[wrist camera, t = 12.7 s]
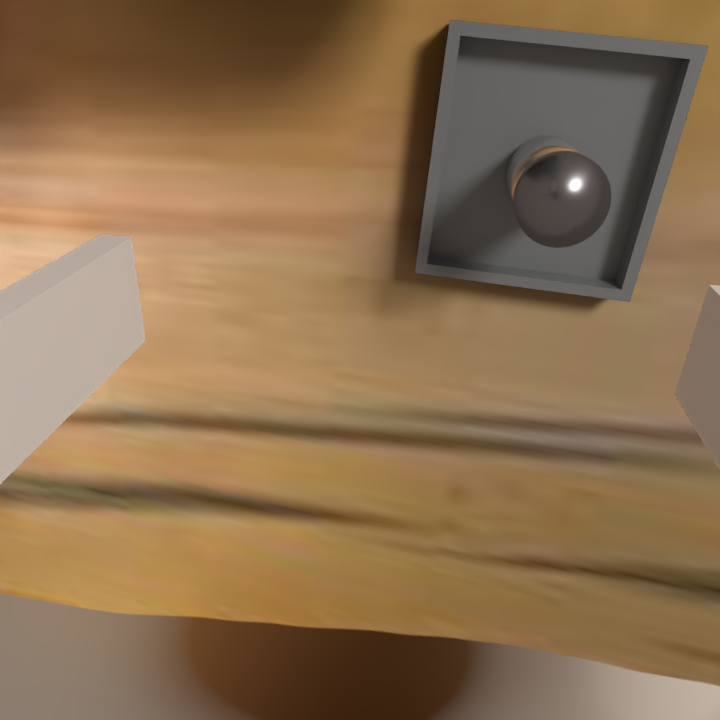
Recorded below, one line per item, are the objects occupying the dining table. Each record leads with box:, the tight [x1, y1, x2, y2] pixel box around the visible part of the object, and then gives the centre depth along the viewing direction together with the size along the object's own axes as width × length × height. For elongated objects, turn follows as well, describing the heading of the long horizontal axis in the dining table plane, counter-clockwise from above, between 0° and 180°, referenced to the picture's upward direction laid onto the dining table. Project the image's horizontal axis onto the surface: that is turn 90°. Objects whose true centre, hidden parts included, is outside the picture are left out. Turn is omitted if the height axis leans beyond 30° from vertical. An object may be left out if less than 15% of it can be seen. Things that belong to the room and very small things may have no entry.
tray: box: [415, 20, 708, 302], centre depth 44 cm, size 17×16×3 cm
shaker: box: [506, 136, 611, 248], centre depth 40 cm, size 5×5×10 cm
